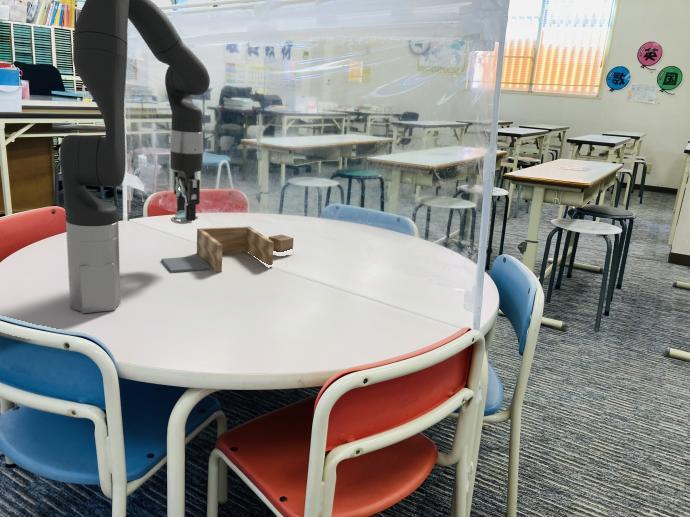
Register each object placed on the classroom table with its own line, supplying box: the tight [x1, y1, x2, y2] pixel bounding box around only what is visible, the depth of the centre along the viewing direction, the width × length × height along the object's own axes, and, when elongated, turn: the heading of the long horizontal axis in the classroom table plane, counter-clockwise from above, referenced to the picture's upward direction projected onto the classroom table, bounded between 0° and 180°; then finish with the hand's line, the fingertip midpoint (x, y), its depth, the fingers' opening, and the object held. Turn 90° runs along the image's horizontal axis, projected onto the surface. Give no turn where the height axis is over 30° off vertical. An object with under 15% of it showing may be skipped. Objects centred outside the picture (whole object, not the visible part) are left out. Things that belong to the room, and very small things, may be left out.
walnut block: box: [268, 234, 294, 252], centre depth 157 cm, size 5×5×5 cm
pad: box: [161, 255, 213, 274], centre depth 139 cm, size 10×10×1 cm
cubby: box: [196, 226, 274, 273], centre depth 146 cm, size 17×15×7 cm
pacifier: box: [170, 202, 199, 225], centre depth 135 cm, size 7×6×6 cm
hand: (186, 216), depth 136 cm, fingers closed on pacifier, 7 cm apart
